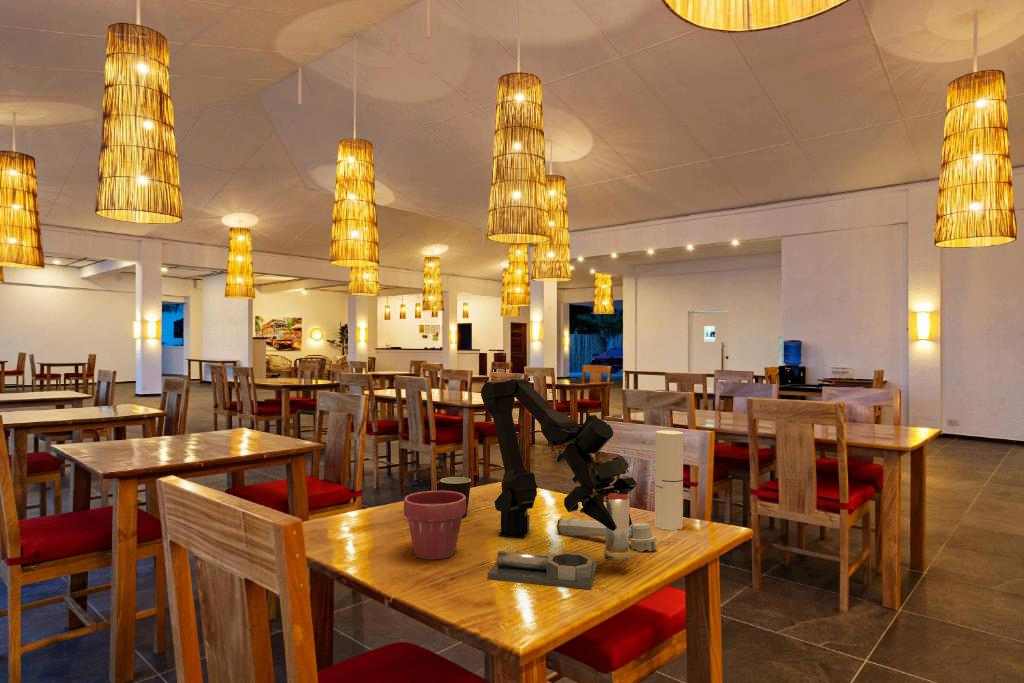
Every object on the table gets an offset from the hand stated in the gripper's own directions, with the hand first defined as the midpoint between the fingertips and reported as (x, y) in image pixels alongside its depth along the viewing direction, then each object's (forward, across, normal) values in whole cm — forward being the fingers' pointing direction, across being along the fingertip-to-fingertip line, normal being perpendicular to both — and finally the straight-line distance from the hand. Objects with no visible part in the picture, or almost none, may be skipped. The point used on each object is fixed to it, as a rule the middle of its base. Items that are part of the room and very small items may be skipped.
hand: (622, 527), depth 127 cm
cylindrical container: (-3, +37, +16) cm, 40 cm away
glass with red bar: (+4, 0, +6) cm, 7 cm away
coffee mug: (-34, -1, +48) cm, 59 cm away
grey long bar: (-4, +13, +18) cm, 23 cm away
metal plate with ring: (-1, -13, +14) cm, 19 cm away
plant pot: (-18, -24, +32) cm, 43 cm away
